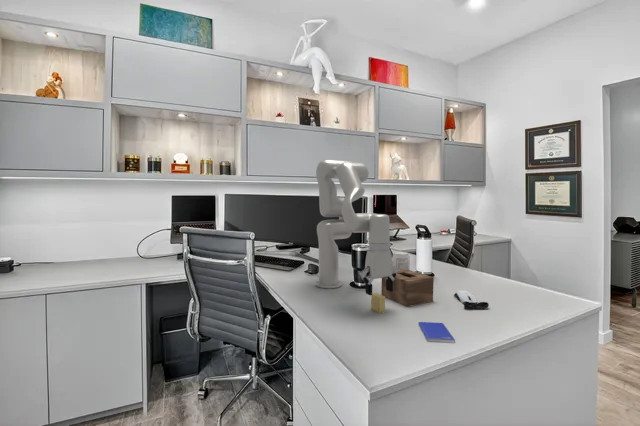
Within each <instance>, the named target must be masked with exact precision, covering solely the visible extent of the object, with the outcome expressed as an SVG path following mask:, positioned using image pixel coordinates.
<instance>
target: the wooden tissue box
mask: <svg viewBox="0 0 640 426" xmlns="http://www.w3.org/2000/svg"><path fill="white" fill-rule="evenodd" d="M434 279H435V277H433V276H431V275H427V274H424V273H420V272H417V271H413V270H410V269H409V270H407V269H403V270H398V271H397V273H396V277H395V278H394V281H393V291H392V292H391V291H388V290H386V280H387V278H386V277H384V278H381V293H380V295H383V296H385V298H387V299H389V300H392V301H393V302H397V303H399V304H401V305H403V306H405V307H411V306H417V305H421V304H426V303H430V302H434V282H435V281H434Z"/></svg>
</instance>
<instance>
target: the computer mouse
mask: <svg viewBox="0 0 640 426" xmlns="http://www.w3.org/2000/svg"><path fill="white" fill-rule="evenodd" d="M453 298H454V299H456V300H458V301H459V302H461V303H462V304H463V308H464V309H465V310H473V309H475V310H488V308H489V306H490V304H489V302H486V301H481V302H479V301H478V300H477V298H476V297H475V295H473V294H472V293H471V292H469V291H468V290H457V291H456V292H455V293H454V294H453Z"/></svg>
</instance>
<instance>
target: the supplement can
mask: <svg viewBox="0 0 640 426" xmlns="http://www.w3.org/2000/svg"><path fill="white" fill-rule="evenodd" d="M410 259H411V257H410V254H409V252H406V251H394V252H393V254H392V265H393V266H394V267H396V268H398V270H403V269H407V270H410V269H411V268H410V266H411V265H410V264H411V263H410V262H411V260H410Z"/></svg>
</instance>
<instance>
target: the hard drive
mask: <svg viewBox="0 0 640 426" xmlns="http://www.w3.org/2000/svg"><path fill="white" fill-rule="evenodd" d="M417 323H418V327H419V329H420V330H421V332H422V335H423V336H424V339H425V340H426V342H427V343H428V342H431V343H449V344H450V343H453V344H454V343H456V339H455V338H454V337H453V335H452V334H451V332H450V331H449V330H448V328H447V327H446V326H445V324H444V322H432V321H431V322H429V321H428V322H427V321H420V322H419V321H418V322H417Z"/></svg>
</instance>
